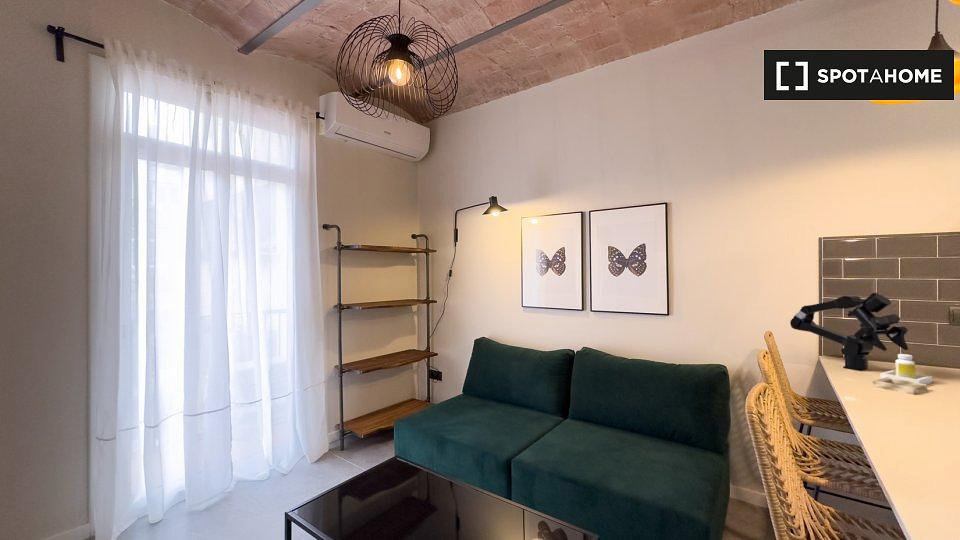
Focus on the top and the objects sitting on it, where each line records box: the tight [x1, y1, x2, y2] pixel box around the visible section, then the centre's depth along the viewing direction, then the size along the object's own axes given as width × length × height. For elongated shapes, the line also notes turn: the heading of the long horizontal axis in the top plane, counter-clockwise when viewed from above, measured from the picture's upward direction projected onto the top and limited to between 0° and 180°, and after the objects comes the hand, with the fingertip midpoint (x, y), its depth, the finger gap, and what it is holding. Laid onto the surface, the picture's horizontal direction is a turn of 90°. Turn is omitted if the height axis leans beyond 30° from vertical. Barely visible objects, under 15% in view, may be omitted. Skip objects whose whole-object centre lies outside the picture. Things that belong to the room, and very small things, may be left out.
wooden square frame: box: [872, 377, 928, 395], centre depth 147 cm, size 11×11×2 cm
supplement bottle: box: [894, 353, 916, 379], centre depth 155 cm, size 5×5×10 cm
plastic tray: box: [879, 369, 933, 386], centre depth 155 cm, size 11×11×2 cm
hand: (896, 350), depth 158 cm, fingers open, 9 cm apart
